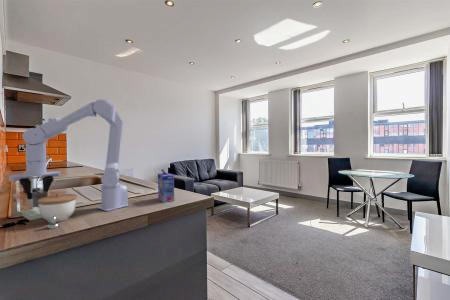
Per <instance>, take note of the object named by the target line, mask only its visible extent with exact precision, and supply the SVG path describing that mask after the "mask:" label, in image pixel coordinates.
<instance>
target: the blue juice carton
mask: <svg viewBox="0 0 450 300" xmlns="http://www.w3.org/2000/svg"><path fill="white" fill-rule="evenodd" d="M160 170H161V171H162V172H161V173H160V172H159V173H157V189H158V190H157V193H158V194H157V196H158V199H159V200H161V201H162V203H166V202H175V184H174V183H175V181H174V180H175V178H174V174H173V173H169V172H165V170H164V169H160Z"/></svg>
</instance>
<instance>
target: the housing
mask: <svg viewBox="0 0 450 300" xmlns="http://www.w3.org/2000/svg"><path fill="white" fill-rule="evenodd" d="M44 197H48V193H47V191H45V190H43V188H41V187H33V188H32V187H31V199H27V204H28V205H29V206H31V207H32V209H36V208H39V203H38V200H39V199H41V198H44Z"/></svg>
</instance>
